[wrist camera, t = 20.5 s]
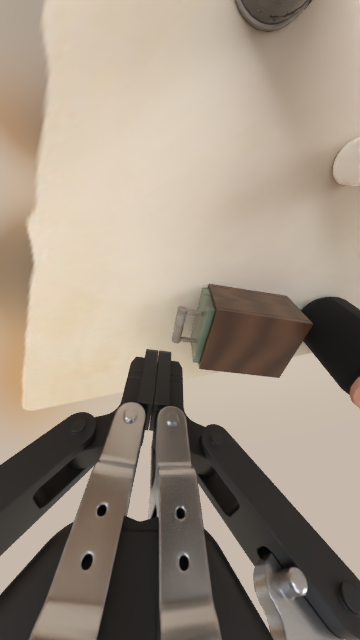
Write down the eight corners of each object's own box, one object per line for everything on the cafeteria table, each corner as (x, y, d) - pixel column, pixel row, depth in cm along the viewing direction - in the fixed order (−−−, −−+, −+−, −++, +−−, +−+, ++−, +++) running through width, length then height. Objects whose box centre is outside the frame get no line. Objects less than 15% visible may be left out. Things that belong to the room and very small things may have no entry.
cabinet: (195, 336, 46) (199, 369, 38) (209, 283, 39) (217, 310, 31) (261, 344, 47) (279, 378, 39) (286, 295, 40) (313, 323, 32)
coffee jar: (288, 339, 46) (342, 414, 31) (298, 297, 41) (370, 364, 26) (338, 334, 46) (416, 408, 31) (354, 291, 40) (461, 356, 25)
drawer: (170, 333, 44) (169, 359, 37) (179, 284, 38) (180, 305, 31) (254, 344, 46) (267, 370, 39) (276, 299, 40) (295, 321, 33)
